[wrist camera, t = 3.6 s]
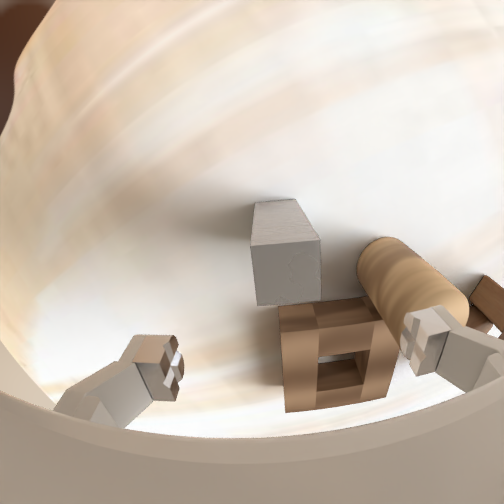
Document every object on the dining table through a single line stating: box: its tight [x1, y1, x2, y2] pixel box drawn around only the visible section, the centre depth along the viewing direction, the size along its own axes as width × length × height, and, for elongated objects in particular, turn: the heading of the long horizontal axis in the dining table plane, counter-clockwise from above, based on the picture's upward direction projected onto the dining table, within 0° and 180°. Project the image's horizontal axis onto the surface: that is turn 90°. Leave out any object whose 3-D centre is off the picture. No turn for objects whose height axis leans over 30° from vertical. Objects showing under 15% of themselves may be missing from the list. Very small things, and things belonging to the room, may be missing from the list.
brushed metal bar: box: [250, 199, 321, 306], centre depth 18 cm, size 3×3×10 cm
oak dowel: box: [357, 237, 469, 360], centre depth 19 cm, size 6×6×10 cm
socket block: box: [278, 296, 400, 413], centre depth 25 cm, size 11×11×4 cm
